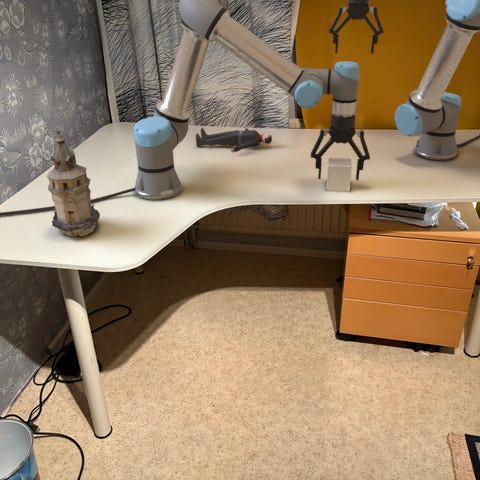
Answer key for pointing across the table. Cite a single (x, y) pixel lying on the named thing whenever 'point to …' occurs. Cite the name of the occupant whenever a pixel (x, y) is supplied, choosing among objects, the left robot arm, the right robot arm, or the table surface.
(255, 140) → the toy
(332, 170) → the brick
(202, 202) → the table surface
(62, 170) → the miniature building
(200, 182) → the table surface
